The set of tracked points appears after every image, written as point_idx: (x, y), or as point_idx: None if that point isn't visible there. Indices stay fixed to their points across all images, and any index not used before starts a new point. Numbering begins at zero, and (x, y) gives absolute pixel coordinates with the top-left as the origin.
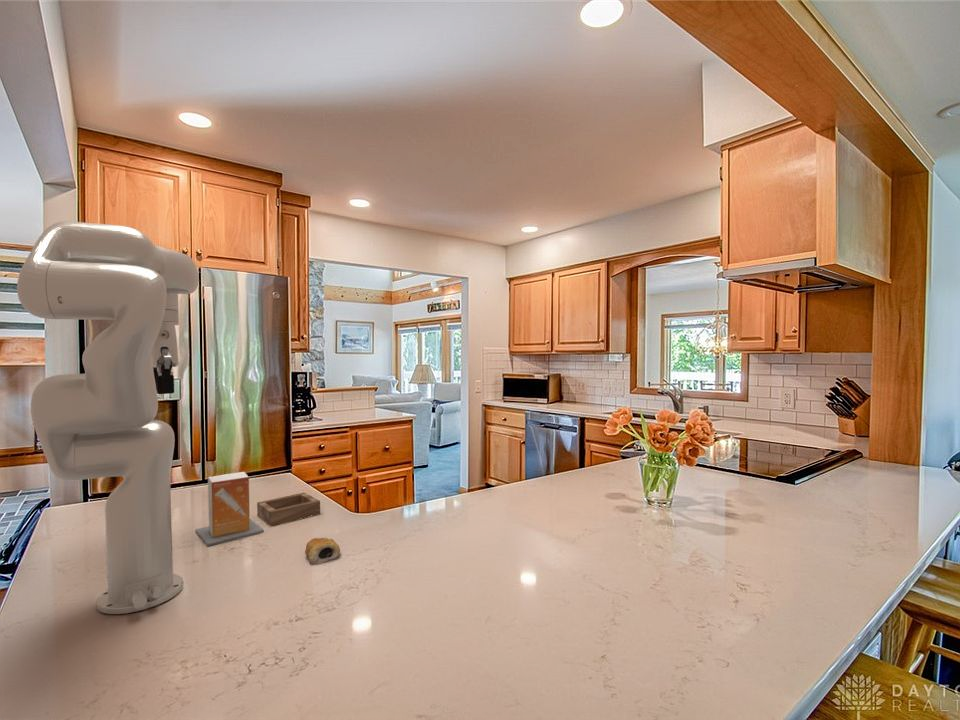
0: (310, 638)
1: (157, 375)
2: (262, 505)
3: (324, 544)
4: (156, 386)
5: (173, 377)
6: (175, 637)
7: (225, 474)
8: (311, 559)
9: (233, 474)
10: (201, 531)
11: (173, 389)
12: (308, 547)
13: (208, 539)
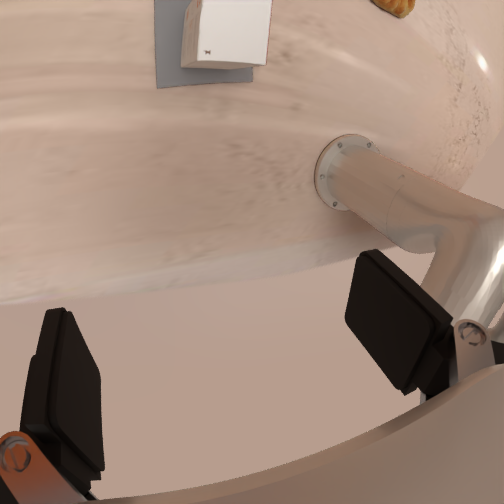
0: (476, 94)
1: (87, 452)
2: None
3: (414, 2)
4: (90, 378)
5: (443, 310)
6: (427, 158)
7: (204, 20)
8: (403, 17)
9: (222, 6)
10: (177, 79)
11: (385, 261)
12: (394, 8)
13: (230, 76)
